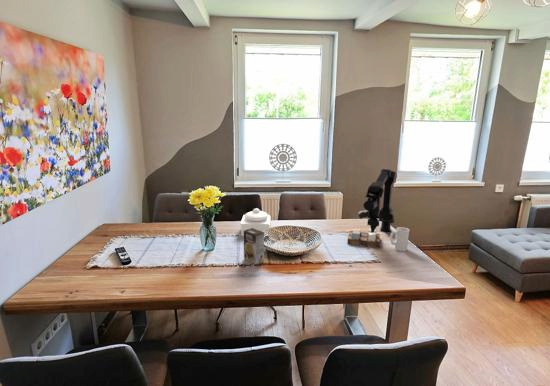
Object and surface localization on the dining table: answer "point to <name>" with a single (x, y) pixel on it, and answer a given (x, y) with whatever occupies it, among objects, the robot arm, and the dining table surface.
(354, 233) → the key slate
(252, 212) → the white lidded jar
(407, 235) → the mug
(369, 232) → the key sage
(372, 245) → the brown shallow tray
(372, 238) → the cream white cube
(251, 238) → the coffee box
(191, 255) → the dining table surface
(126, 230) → the dining table surface
